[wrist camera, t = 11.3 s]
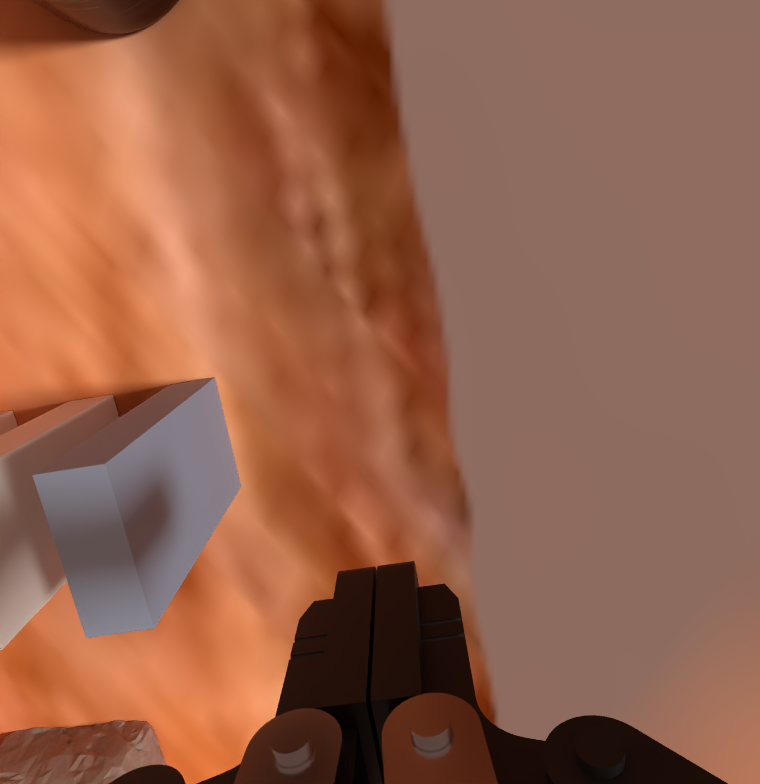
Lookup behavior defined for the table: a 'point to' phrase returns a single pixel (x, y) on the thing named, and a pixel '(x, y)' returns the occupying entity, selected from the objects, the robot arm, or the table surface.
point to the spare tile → (140, 505)
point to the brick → (78, 753)
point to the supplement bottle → (109, 13)
